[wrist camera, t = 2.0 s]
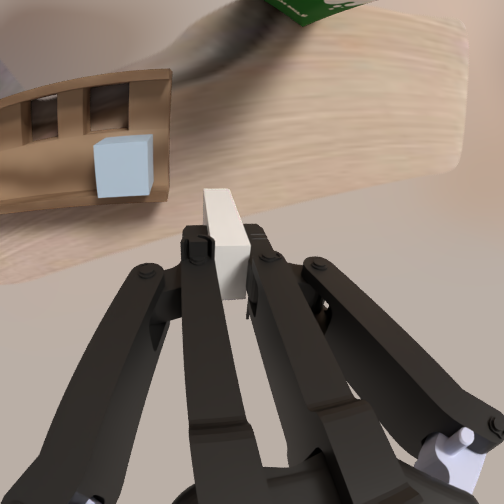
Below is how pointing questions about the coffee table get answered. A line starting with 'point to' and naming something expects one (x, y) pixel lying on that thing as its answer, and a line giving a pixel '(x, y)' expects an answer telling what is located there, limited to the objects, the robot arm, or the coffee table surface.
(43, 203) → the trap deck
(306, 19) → the milk carton
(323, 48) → the coffee table surface
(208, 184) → the coffee table surface
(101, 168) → the blue block
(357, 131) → the coffee table surface
